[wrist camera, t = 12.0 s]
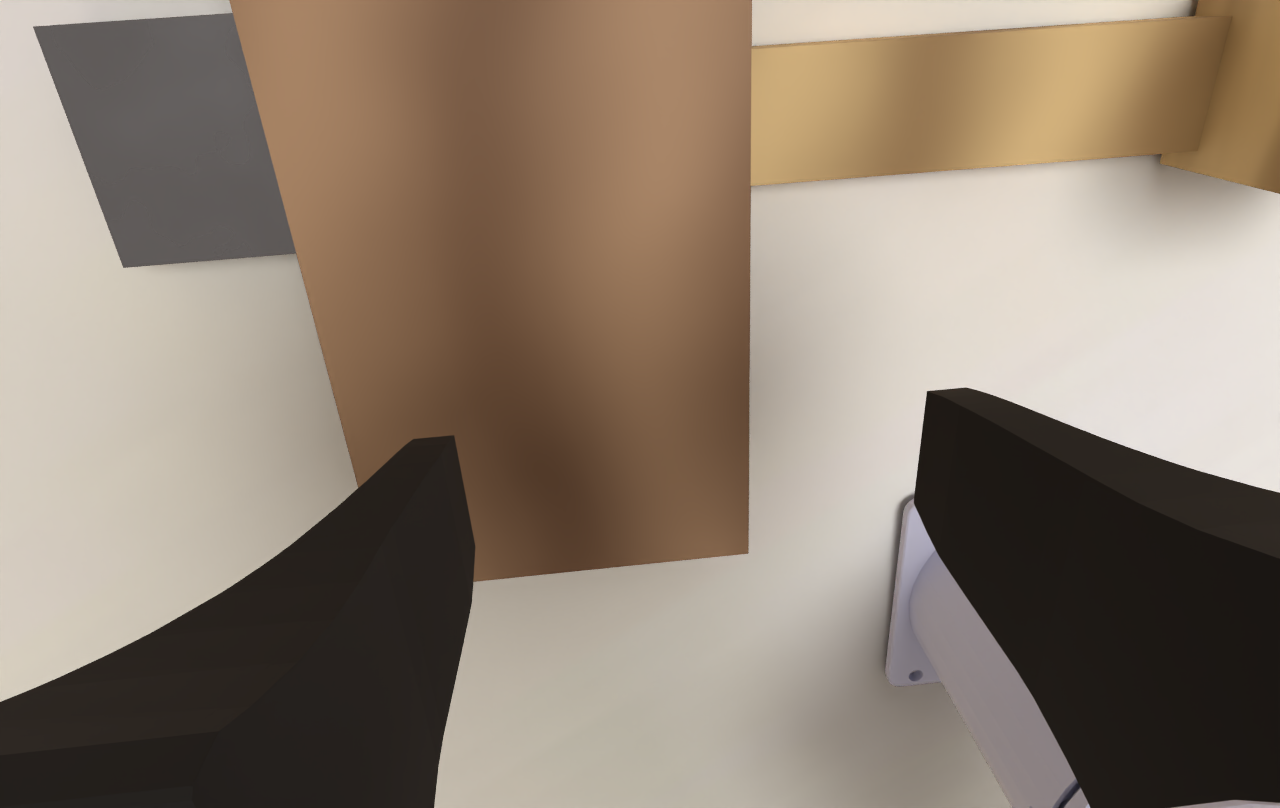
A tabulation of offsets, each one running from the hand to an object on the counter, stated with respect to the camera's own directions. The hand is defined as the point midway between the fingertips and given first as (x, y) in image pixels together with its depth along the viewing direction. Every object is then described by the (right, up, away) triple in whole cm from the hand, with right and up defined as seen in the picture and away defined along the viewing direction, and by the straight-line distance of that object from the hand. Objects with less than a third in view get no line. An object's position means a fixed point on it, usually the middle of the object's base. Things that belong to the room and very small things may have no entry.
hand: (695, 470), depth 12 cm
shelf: (-4, +8, +7) cm, 11 cm away
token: (-11, +7, +7) cm, 15 cm away
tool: (+8, +9, +8) cm, 14 cm away
